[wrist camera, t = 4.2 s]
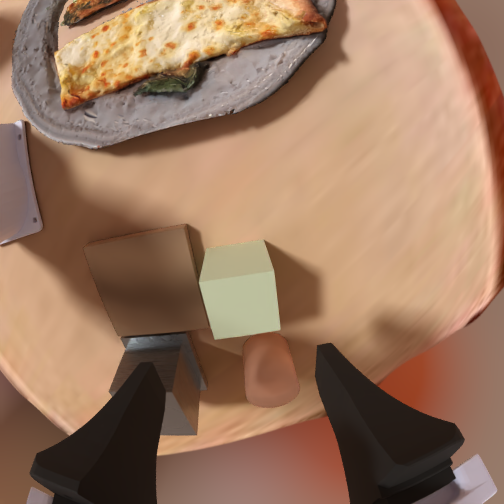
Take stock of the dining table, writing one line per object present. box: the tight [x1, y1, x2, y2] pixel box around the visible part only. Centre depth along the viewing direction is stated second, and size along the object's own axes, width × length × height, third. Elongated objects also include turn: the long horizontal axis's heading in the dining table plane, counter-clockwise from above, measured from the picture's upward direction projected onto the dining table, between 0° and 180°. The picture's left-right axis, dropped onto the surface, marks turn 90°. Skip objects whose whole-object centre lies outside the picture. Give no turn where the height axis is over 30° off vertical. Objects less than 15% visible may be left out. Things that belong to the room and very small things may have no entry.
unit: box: [109, 331, 208, 435], centre depth 20 cm, size 7×6×6 cm
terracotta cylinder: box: [242, 332, 300, 408], centre depth 20 cm, size 4×4×5 cm
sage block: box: [199, 239, 281, 340], centre depth 17 cm, size 4×4×5 cm
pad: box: [83, 224, 210, 336], centre depth 19 cm, size 8×8×1 cm
